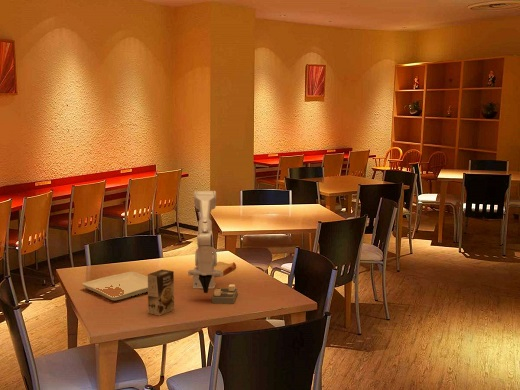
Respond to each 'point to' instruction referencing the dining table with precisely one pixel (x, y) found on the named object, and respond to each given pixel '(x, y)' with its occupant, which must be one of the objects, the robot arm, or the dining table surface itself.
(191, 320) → the dining table surface
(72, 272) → the dining table surface
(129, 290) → the square plate
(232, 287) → the tab
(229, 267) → the slice of bread
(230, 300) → the switch board
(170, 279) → the coffee box
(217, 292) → the front tab
